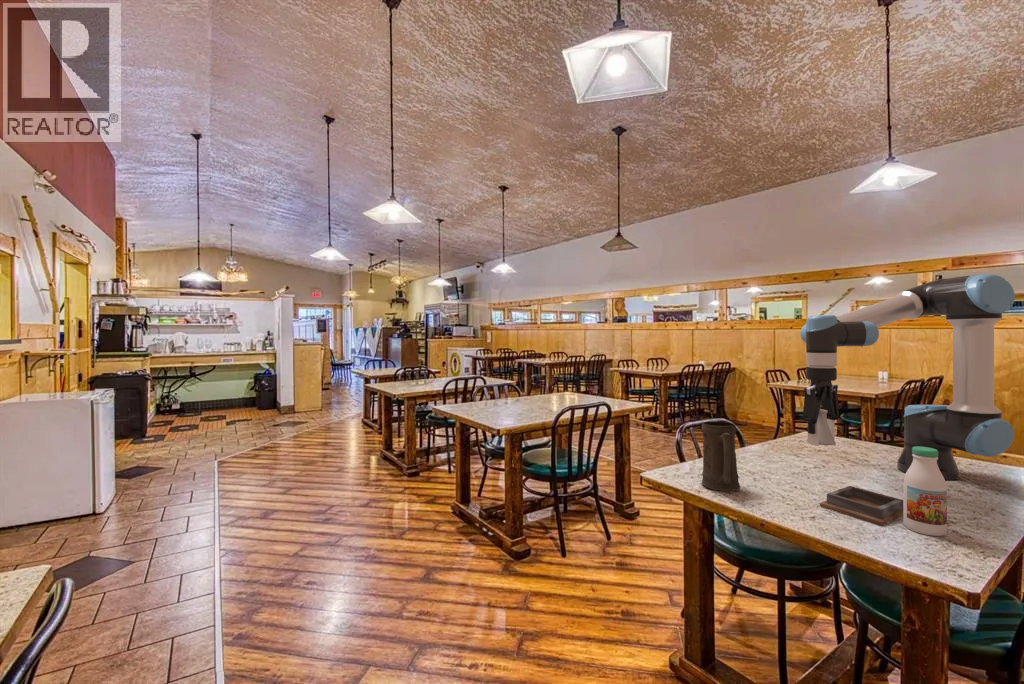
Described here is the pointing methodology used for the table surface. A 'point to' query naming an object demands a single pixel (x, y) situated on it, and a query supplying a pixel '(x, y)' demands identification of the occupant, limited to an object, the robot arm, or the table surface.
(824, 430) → the flask
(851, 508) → the rectangular tray
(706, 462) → the beer stein
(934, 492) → the milk bottle
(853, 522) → the table surface
